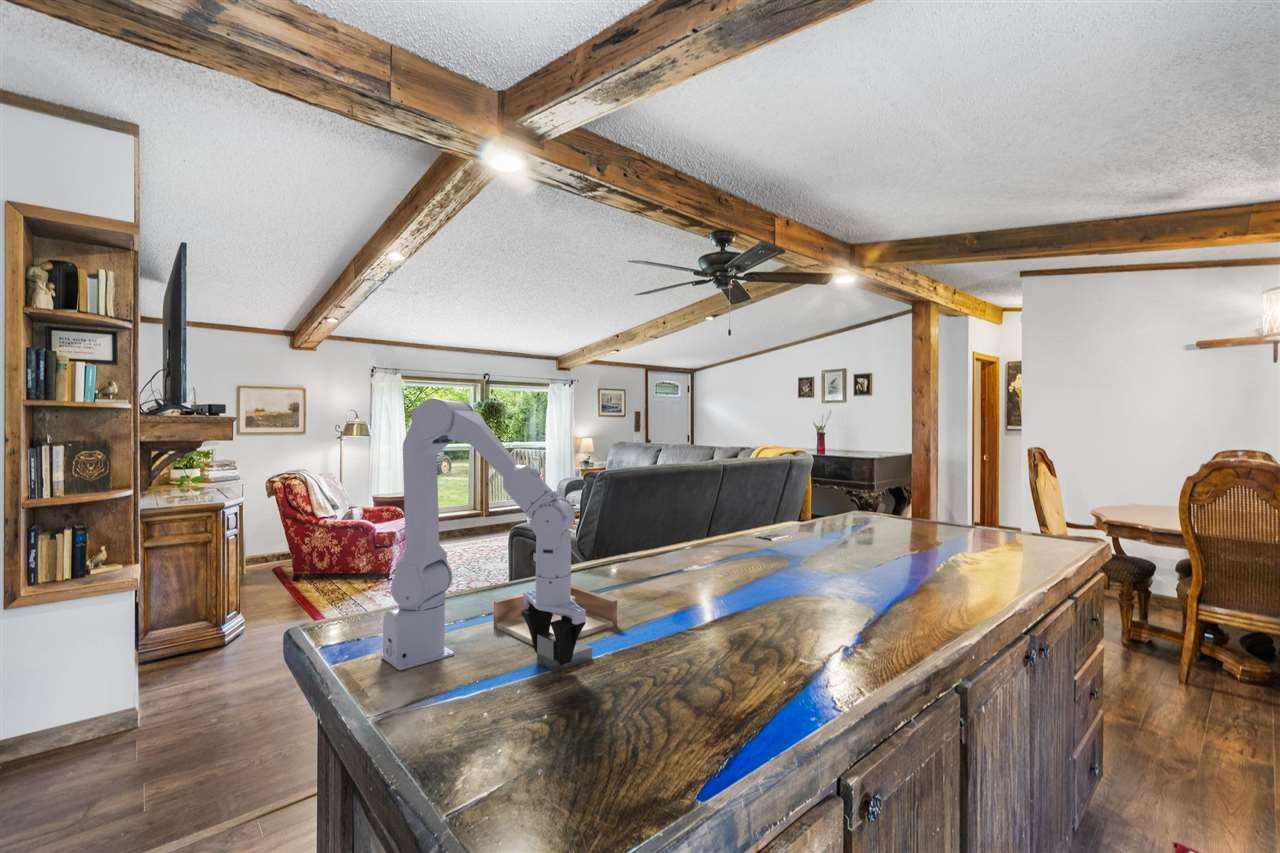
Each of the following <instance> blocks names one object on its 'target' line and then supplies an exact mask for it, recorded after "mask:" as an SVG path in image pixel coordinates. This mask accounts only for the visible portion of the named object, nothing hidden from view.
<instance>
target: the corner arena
mask: <svg viewBox="0 0 1280 853" xmlns="http://www.w3.org/2000/svg"><path fill="white" fill-rule="evenodd" d="M571 596H574V597H575V601H574V602H575V603H576V604H577V605H578V606H579V607H581V608H583V609H585V610H586V615H585V619H586V624H585V625H584V627H583V628H582V630H581V632H580V634H579V636H578V638H582V637H584V636H585V637H586V636H589V635H590V634H591V635H593V634H595V633H598V632H601V631H603V630H607V629H610V628H614V627H617V626H618V600H617V599H615V598H611V597H608V596H605V595H602V594H599V593H596V592H594V591H589V590H586V589H584V588H582V587H578V586H575V585H572V584H571ZM528 607H529V605H526V604H524V593H523V594H519V595H514V596H510V597H506V598H500V599H497V600H493V627H494V628H496V629H498V630H500V631H502V632H504V633H505V634H508V635H510V636H512V637H514V638H516V639H519V640H521V641H522V642H525V643H526V644H529V645H530V646H533V642H532V638H531V634H530V631H529V628H528V625H527V623H526V621H525V619H524V617H523V616H522V610H525V609H528ZM557 620H561V616H558V615H556V614H553V616H552V619H551V622H553V621H557ZM549 632H550V633H552V634H554V632H553V629H552V627H551V625H550V630H549Z"/></svg>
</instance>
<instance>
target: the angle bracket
mask: <svg viewBox="0 0 1280 853" xmlns="http://www.w3.org/2000/svg"><path fill="white" fill-rule="evenodd" d="M591 660H593V647H592V646H590V645H587V644H585V643H583V642H582V641H578V640H577V641H576V645H575V648H574V652H573V656H572V660H571V662H569V663H567V664H564V665H560V664H559V663H558V659H557V646H556V639H555V635H554V634H552V633H550V632H548V631H547V632H543V633H540V634H537V653H536V665H538V666H540V667H542V668H544V669H545V670H547V671H549V672H551V673H556V672H560V671H562V670H565V669H569V668H570V667H573V666H576V665H579V664H581V663H584V662H587V661H591Z"/></svg>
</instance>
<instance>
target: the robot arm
mask: <svg viewBox="0 0 1280 853" xmlns="http://www.w3.org/2000/svg"><path fill="white" fill-rule="evenodd" d="M454 441H455V442H460V443H464V444H467V445H470V446H471V447H472V448H473V449H474V450H476V452H477V453H478V454H480V455H481V457H482V458H483V459H485V461H486V462H487V463H488V464H489V465H490V466H491V467H492V468H493V469H494V470H495V471H496V472H497V473H499V475H500V476H501V477H502V489H503V490H504V491H505V493H507V495H508V496H509V497H510V498H511V499H512V500H513V501H514V503H516V505H517V506H518V507H519V508H520V510H521V511H523V513H524V514H525V515H526V516H527V517H529V518H530V520H529V525H530V528H531V530H532V532H533V534H535V535H534V536H536V538H535V540H536V541H535V590H530V591H525V592H523V594H524V604H526V605H529V607H528V609H525V610H522V616H523V617H524V619H525V621H526V623H527V625H528V628H529V631H530V634H531V638H532V642H533V645H532V646H533V649H534V652H535V653H536V654H537V634H540V633H543V632H547V631H548V632H549V630H550V625H551V627H552V629H553V632H554V635H555V639H556V646H557V659H558V663H559V664H560V665H564V664H567V663H569V662H571V660H572V656H573V652H574V648H575V645H576V641H578V636H579V634H580V632H581V630H582V628H583V627H584V625H585V624H586V619H585V615H586V610H585V609H583V608H581V607H579V606H578V605H577V604H576V603H575V602H574V601H575V597H574V596H571V585H572V584H571V583H572V579H571V578H572V543H571V541H572V540H571V538H572V536H571V535H572V533H571V532H572V530H570V529H571V528H572V527H573V525H574V524H575V521H576V512H575V508H574V507H573V505H572V503H571V501H570V500H568V499H566V498H564V497H560V494H559V493H558V491H556V490H552V488H550V486H549V485H548V484H547V483H546V481H544V479H543V478H541V476H540V475H541V474H542V472H541V471H540V470H539V469H538V467H534V468H533V467H532V466H531V465H529V464H519V463H518V461H517V460H516V459H515V457H514V456H513V455H512V454H511V453H510V451H509V450H508V449H507V447H505V445H504V444H503V443H502V441H501V440H500V439H499V438H498V436H497V435H496V434H495V432H493V431H492V429H491V428H490V427H489V425H488V424H487V423H486V421H485V420H484V418H483V416H482V415H481V414H480V413H479V412H478V411H475V409H474V408H473V407H472V405H471V404H470V403H468V402H467V401H463V400H449V399H448V400H447V399H441V398H436V397H433V398H427V399H426V400H423V401H422V402H421V403H420V404H419V405H418V406H416V407H415V409H413V410H412V411H411V424H410V425H409V429H408V430H407V433H406V435H405V437H404V440H403V443H402V466H403V468H402V470H403V472H402V473H403V501H404V502H403V503H404V504H403V505H404V536H405V538H404V539H405V540H404V541H405V548H404V550H403V552H402V553H401V555H400V556H399V558H398V560H397V561H396V563H395V574H394V577H393V579H392V582H391V587H390V592H391V597H392V598H393V601H394V602H395V603H396V604H397V605H398V606H397V607H396V608H394V609H390V610H388V611H386V612H384V616H383V621H382V623H383V624H382V654H381V655H380V656H381V658H382V659H383V660H385V661H386V662H387V663H388V664H390V665H392V666H393V667H394V668H395V669H397V670H398V671H403V670H407V669H409V668H413V667H417V666H421V665H424V664H429V663H432V662H435V661H438V660H442V659H447V658H449V657H453V656H454V655H455V652H454V651H453V650H451V649H449V648H448V647H447V646H445V644H446V642H445V638H446V637H445V636H446V635H445V634H446V633H445V630H446V629H445V628H446V626H445V625H446V623H445V622H446V619H445V618H446V610H445V609H446V591H448V589H450V587H451V585H452V582H453V571H452V569H451V567H450V565H449V562H448V555H447V552H446V550H445V549H444V548H443V547H442V546H441V545H440V520H439V517H440V516H439V488H438V484H439V483H438V455H439V453H441V452H442V451H443V450H444V449H445V448H446V447H447V446H448V445H449V444H450V443H451V442H454ZM553 614H556V615H558V616H561V620H557V621H553V622H551V619H552V616H553Z"/></svg>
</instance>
